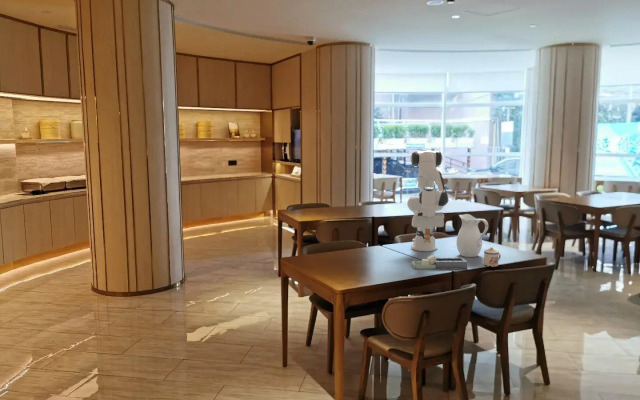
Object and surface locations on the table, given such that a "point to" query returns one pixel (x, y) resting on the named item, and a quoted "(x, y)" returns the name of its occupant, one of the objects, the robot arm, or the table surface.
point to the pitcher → (470, 236)
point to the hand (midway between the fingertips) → (427, 233)
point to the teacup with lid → (491, 257)
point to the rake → (427, 237)
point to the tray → (419, 265)
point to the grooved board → (450, 263)
